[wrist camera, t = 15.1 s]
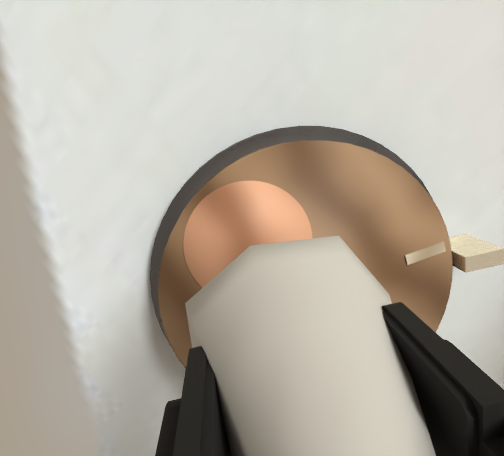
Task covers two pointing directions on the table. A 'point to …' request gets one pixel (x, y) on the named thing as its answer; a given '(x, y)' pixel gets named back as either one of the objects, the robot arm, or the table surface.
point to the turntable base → (462, 246)
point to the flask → (306, 355)
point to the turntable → (310, 225)
